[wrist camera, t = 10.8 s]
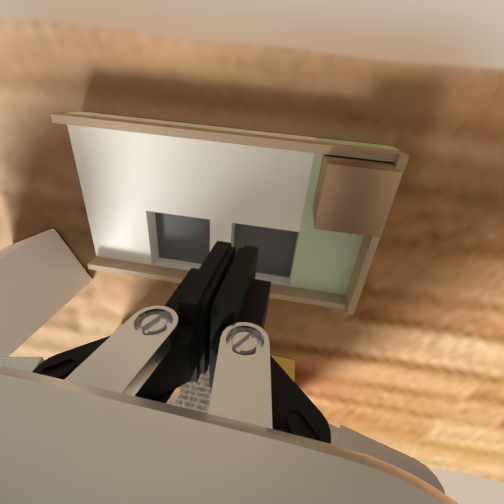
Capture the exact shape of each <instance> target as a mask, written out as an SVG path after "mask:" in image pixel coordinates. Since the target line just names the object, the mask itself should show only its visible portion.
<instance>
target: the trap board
mask: <svg viewBox="0 0 504 504" xmlns="http://www.w3.org/2000/svg"><path fill="white" fill-rule="evenodd" d="M50 116H51V120H52V123H59V124H67V127H68V131H69V136H70V140H71V145H72V149H73V154H74V158H75V163H76V167H77V172H78V176H79V181H80V185H81V189H82V194H83V198H84V203H85V207H86V212H87V216H88V221H89V225H90V230H91V234H92V239H93V243H94V247H95V252H96V257H95V258H94V259H93V260H91V261H90V262H89V263H88V264H87V266H88V269H92V270H98V271H104V272H111V273H117V274H123V275H129V276H136V277H142V278H148V279H154V280H161V281H167V282H173V283H179V284H180V283H181V282H182V280H183V279H184V278H185V276H186V275H187V273H188V272H189V270H190V269H191V268H196V269H199V268H200V267H201V265H202V264H203V262H204V260H205V259H206V257H207V256H208V254H209V253H210V251H211V250H212V248H213V247H214V245H215V243H216V242H217V241H223V242H229V243H231V245H232V247H236V253H237V251H238V249H239V248H244V246H245V245H248V246H254V247H258V259H257V267H256V276H255V279H259V280H265V281H270V282H271V288H270V295H269V298H273V299H279V300H286V301H292V302H298V303H304V304H311V305H317V306H323V307H329V308H336V309H342V310H346V313H347V314H351V315H353V314H354V311H355V309H356V306H357V303H358V300H359V297H360V295H361V292H362V289H363V286H364V283H365V280H366V278H367V275H368V272H369V269H370V266H371V263H372V261H373V258H374V255H375V252H376V249H377V246H378V244H379V241H380V238H381V236H380V237H373V236H365V235H357V234H350V233H342V232H335V231H327V230H319V229H315V227H314V218H313V203H314V198H315V193H316V188H317V183H318V178H319V173H320V168H321V163H322V158H323V154H327V155H335V156H344V157H353V158H361V159H370V160H378V161H387V162H390V163H391V164H392V165H394V166H395V167H396V168H397V169H399V170H400V171H401V172H402V175H401V178H400V181H401V179H402V176H403V173H404V170H405V167H406V165H407V162H408V159H409V155H407V154H405V153H404V152H402V151H400V150H398V149H397V148H395V147H393V146H388V145H379V144H370V143H361V142H352V141H343V140H334V139H325V138H316V137H307V136H298V135H289V134H280V133H271V132H262V131H253V130H244V129H235V128H226V127H217V126H208V125H199V124H190V123H181V122H173V121H164V120H155V119H146V118H137V117H128V116H119V115H110V114H101V113H92V112H83V111H79V112H67V113H55V114H50ZM400 181H399V184H400ZM399 184H398V187H399ZM398 187H397V190H398ZM397 190H396V192H395V195H394V198H395V196H396V193H397ZM394 198H393V201H394ZM393 201H392V204H393ZM392 204H391V207H392ZM391 207H390V210H391ZM390 210H389V213H390ZM389 213H388V215H389ZM387 218H388V216H387ZM386 221H387V219H386ZM385 224H386V222H385ZM385 224H384V227H385ZM384 227H383V230H384ZM383 230H382V232H383ZM381 235H382V233H381Z"/></svg>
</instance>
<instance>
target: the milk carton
mask: <svg viewBox="0 0 504 504" xmlns="http://www.w3.org/2000/svg"><path fill="white" fill-rule="evenodd" d="M91 281H92V278H91V277H90V276H89V274H88V273H87V272H86V270H85V269H84V268H83V266H82V265H81V263H80V262H79V261H78V259H77V258H76V257H75V255H74V254H73V253H72V251H71V250H70V249H69V247H68V246H67V245H66V243H65V242H64V241H63V239H62V238H61V237H60V235H59V234H58V233H57V232H56V230H55V229H54V228H53V229H50V230H47V231H45V232H42V233H39V234H37V235H34V236H32V237H29V238H27V239H24V240H22V241H19V242H16V243H14V244H12V245H10V246H8V247H6V248H4V249H2V250H0V357H8V356H9V355H10V354H11V353H13V352H14V351H15V350H16V349H17V348H18V347H19V346H20V345H21V344H22V343H24V342H25V341H26V340H27V339H28V338H29V337H30V336H31V335H32V334H34V333H35V332H36V331H37V330H38V329H39V328H40V327H41V326H42V325H43V324H45V323H46V322H47V321H48V320H49V319H50V318H51V317H52V316H53V315H54V314H56V313H57V312H58V311H59V310H60V309H61V308H62V307H63V306H64V305H65V304H67V303H68V302H69V301H70V300H71V299H72V298H73V297H74V296H75V295H76V294H78V293H79V292H80V291H81V290H82V289H83V288H84V287H85V286H86V285H87V284H89V283H90V282H91Z"/></svg>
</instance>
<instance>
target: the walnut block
mask: <svg viewBox="0 0 504 504" xmlns="http://www.w3.org/2000/svg"><path fill="white" fill-rule="evenodd" d="M401 175H402V172H401V171H400V170H399V169H397V168H396V167H395V166H394V165H392V164H391V163H390V162H387V161H378V160H370V159H361V158H353V157H344V156H335V155H327V154H323V158H322V163H321V168H320V173H319V178H318V183H317V188H316V193H315V198H314V203H313V218H314V227H315V229H319V230H327V231H335V232H342V233H350V234H357V235H365V236H373V237H380V236H381V233H382V230H383V227H384V224H385V222H386V219H387V216H388V213H389V210H390V207H391V204H392V201H393V198H394V195H395V192H396V190H397V187H398V184H399V181H400V178H401Z"/></svg>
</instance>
